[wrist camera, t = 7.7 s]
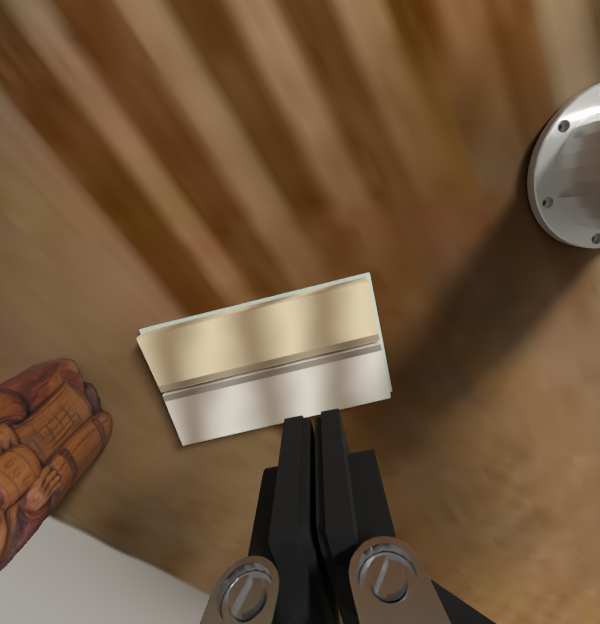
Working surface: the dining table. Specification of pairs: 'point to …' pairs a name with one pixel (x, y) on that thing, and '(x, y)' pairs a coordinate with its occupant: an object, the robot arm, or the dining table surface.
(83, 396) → the wooden figurine
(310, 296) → the plank
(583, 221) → the robot arm
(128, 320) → the dining table surface
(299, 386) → the laid board
